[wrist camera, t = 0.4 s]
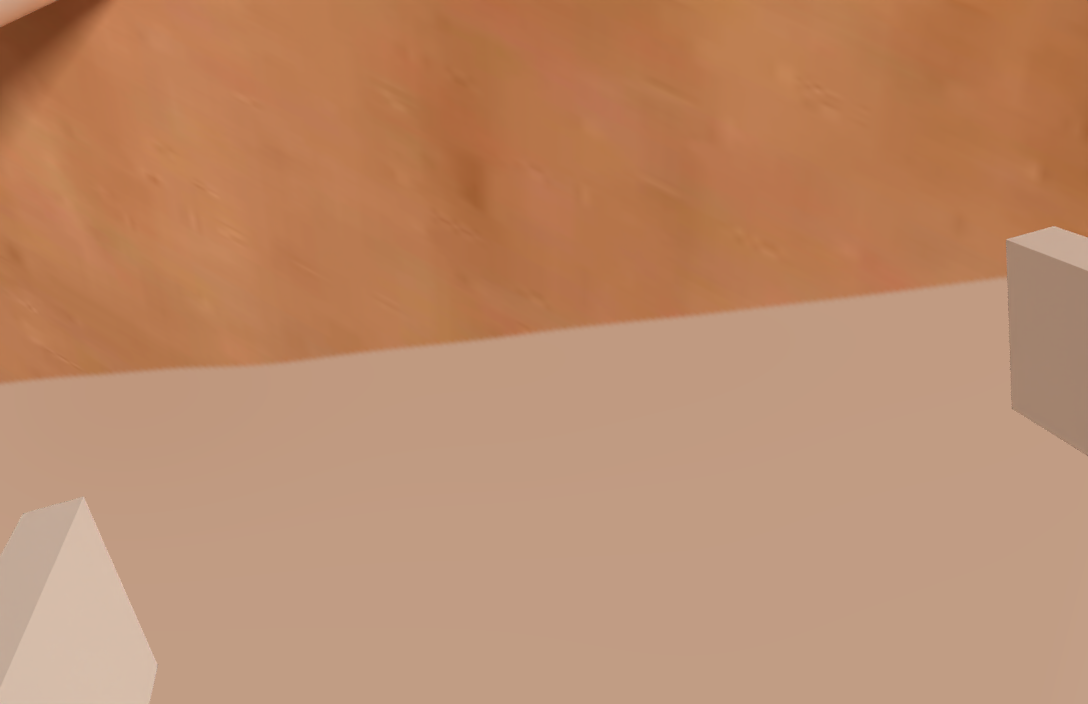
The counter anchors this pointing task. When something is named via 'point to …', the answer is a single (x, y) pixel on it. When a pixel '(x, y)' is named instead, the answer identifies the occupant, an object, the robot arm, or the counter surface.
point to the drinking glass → (19, 9)
